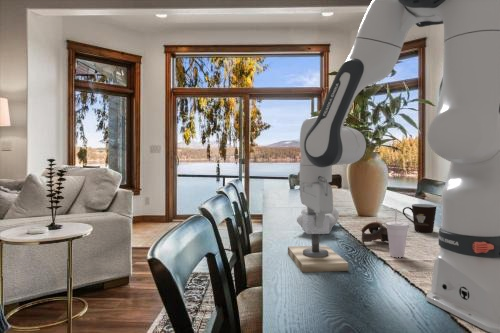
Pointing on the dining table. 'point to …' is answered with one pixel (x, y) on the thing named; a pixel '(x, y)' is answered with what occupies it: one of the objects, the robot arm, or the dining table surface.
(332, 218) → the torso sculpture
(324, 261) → the post block
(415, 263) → the dining table surface
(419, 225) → the coffee mug
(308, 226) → the grey hollow square block
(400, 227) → the smoothie
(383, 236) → the brown hollow curved piece
